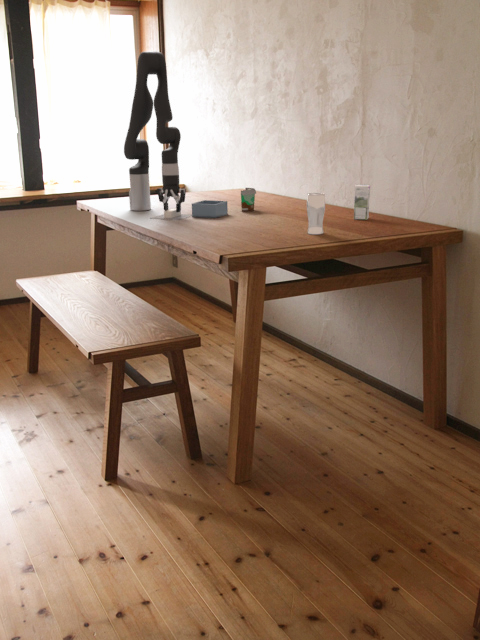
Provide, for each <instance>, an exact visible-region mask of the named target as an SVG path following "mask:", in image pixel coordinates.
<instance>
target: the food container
mask: <svg viewBox="0 0 480 640" xmlns="http://www.w3.org/2000/svg"><path fill="white" fill-rule="evenodd" d="M256 194H257V191H256V189H255V188H254V187H245V189H243V190H240V199H241V200H240V202H241V203H240V204H241V212H242V213H247V212H254V211H255V198H256V197H255V196H256Z"/></svg>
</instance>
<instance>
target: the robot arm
mask: <svg viewBox="0 0 480 640" xmlns="http://www.w3.org/2000/svg"><path fill="white" fill-rule="evenodd" d="M136 67H137V68H136V80H135V88H134V89H135V90H134V93H133V94H134V95H133V100H132V106H131V113H130V119H129V125H128V129H127V132H126V137H125V140H124V144H123V145H124V146H123V154H124V157H125V159H127V160H138V161H137V163H135V165H132V166H131V167H129V169H128V171H129V172H128V173H129V185H130V186H129V188H130V189H128V198H129V209H130V211H138V212H139V211H140V212H141V211H149V210H151V209H152V207H151V206H152V203H151V189H150V188H151V187H150V176H149V175H150V172H149V170H150V150H149V149H150V148H149V143H148V141H147V140H146V139H145V138H144V139H143V138H139V134H140V133H141V132H142V130H143V129H144V128H145V126H146V125H147V124H148V123H149V122H150V120H151V118H152V115H153V109H154V112H155V116H156V129H155V136H156V139H157V141H158V143H160V144H161V145H168V144H169V145H168V148H166V149H163V150H162V151H161V175H162V176H161V178H162V187H158V188H157V189H156V191H157V195H158V200H159V202H160V203H162V204H163V211H167V210H169V199H170V197H171V198H173V199H174V201H175V208H176V212H180V211H181V212H182V205H181V204H182V203H184V202H185V201H186V193H187V189H186V188H181V187H180V169H179V168H180V167H179V160H178V159H179V158H178V157H179V156H178V153H179V147H180V142H181V139H182V138H181V136H182V135H181V132H180V130H179V128H178V127H176V126H166V124H167V123H170V122H171V121H172V120H173V112H172V109H171V103H170V98H169V88H168V87H169V85H168V73H167V63H166V58H165V56H164V54H163V53H162V52H160V51H142V52H140V54H139V55H138V58H137V65H136ZM149 75H156V77H157V89H156V92H155V94H154V98H153V97H152V95H151V92H150V90H149V88H148V77H149Z"/></svg>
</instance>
